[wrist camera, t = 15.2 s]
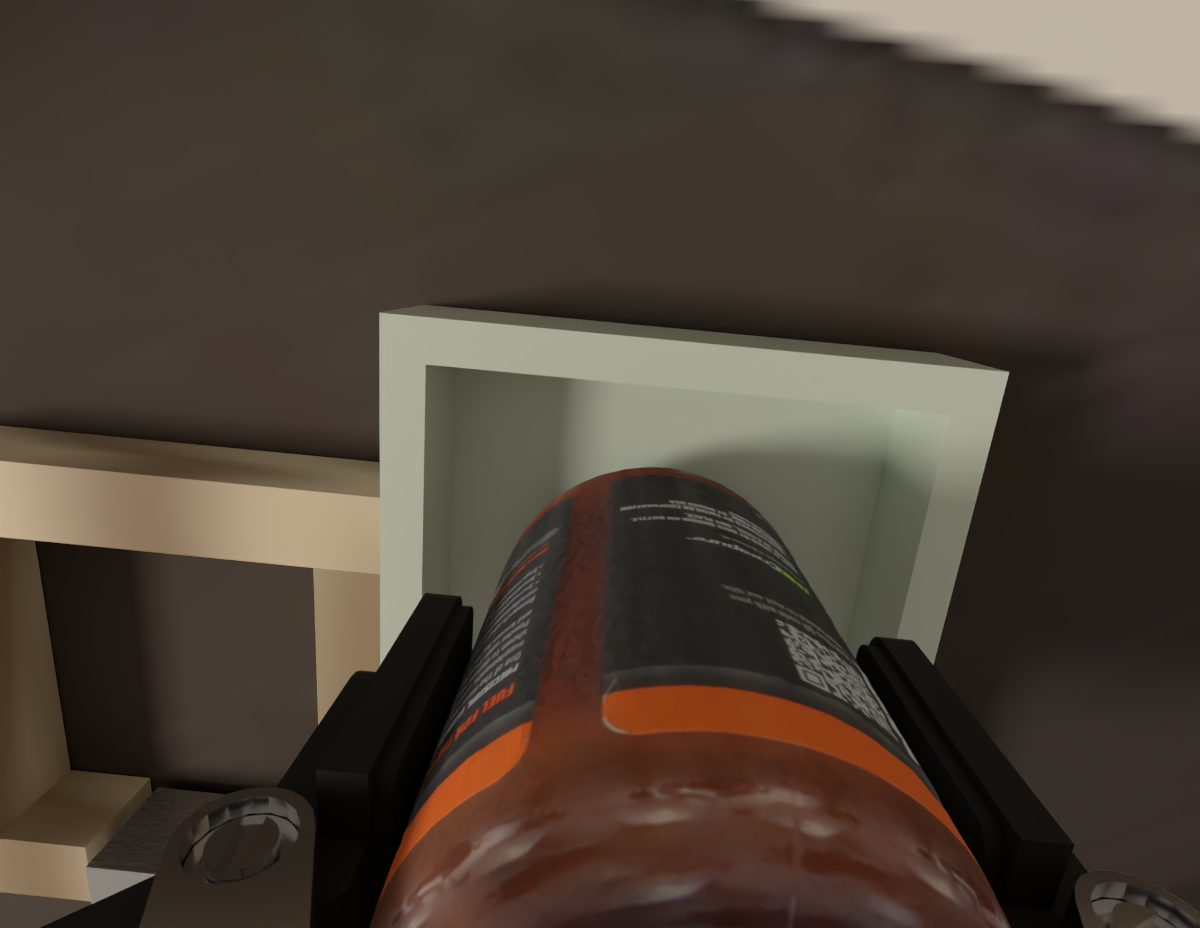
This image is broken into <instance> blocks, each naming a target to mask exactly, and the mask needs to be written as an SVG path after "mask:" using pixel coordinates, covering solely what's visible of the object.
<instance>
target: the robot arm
mask: <svg viewBox="0 0 1200 928" xmlns="http://www.w3.org/2000/svg"><path fill="white" fill-rule="evenodd" d="M473 617H474V612H473V607H472V606H462V598H461V596H453V595H443V594H433V593H425V594H424V595H423V597H422V598H421V600H420V602H419V603H418V605H417V607H416V608H415V610H414V611H413V613H412V615H411V616H410V618H409V619H408V621H407V623H406V624H405V626H404V628H403V629H402V631H401V632H400V634H399V636H398V637H397V639H396V641H395V642H394V644H393V645H392V647H391V649H390V650H389V652H388V653H387V655H386V657H385V658H384V660H383V662H382V663H381V665H380V666H379V668H378V670H377V671H376V672H372V671H362V670H359V671H356V672H355V673H354V674H353V675H352V676H351V677H350V679H349V680H348V682H347V683H346V685H345V686H344V688H343V689H342V691H341V692H340V694H339V695H338V697H337V698H336V700H335V701H334V702H333V704H332V705H331V707H330V708H329V710H328V711H327V713H326V714H325V716H324V717H323V719H322V720H321V722H320V723H319V725H318V726H317V728H316V729H315V731H314V732H313V734H312V735H311V737H310V738H309V740H308V741H307V743H306V744H305V746H304V747H303V749H302V750H301V752H300V753H299V754H298V756H297V757H296V759H295V760H294V762H293V763H292V765H291V766H290V768H289V769H288V771H287V772H286V774H285V775H284V777H283V778H282V780H281V781H280V783H279V784H278V786H277V787H258V788H248V789H244V790H241V791H237V792H233V793H229V794H226V795H224V796H222V797H220V798H218V799H215V800H213V801H211V802H209V803H207V804H205V805H204V806H202V807H201V808H199V809H198V810H197V811H195V812H194V813H192V814H191V815H189V816H188V817H187V818H186V819H185V820H184V821H183V822H182V823H181V824H180V825H179V826H178V827H177V828H176V830H175V831H174V832H173V833H172V834H171V836H170V838H169V840H168V842H167V844H166V846H165V848H164V850H163V852H162V855H161V858H160V861H159V865H158V868H157V871H156V874H155V875H154V876H152V877H150V878H148V879H146V880H143V881H141V882H139V883H137V884H135V885H133V886H130V887H128V888H126V889H124V890H122V891H119V892H117V893H115V894H113V895H111V896H109V897H106V898H104V899H102V900H100V901H98V902H95V903H93V904H91V905H89V906H87V907H85V908H82V909H80V910H78V911H76V912H74V913H71V914H69V915H67V916H65V917H63V918H61V919H58V920H56V921H54V922H52V923H50V924H47V925H45V926H43V927H41V928H369V927H370V924H371V921H372V918H373V915H374V913H375V910H376V907H377V904H378V901H379V898H380V896H381V893H382V890H383V887H384V884H385V882H386V879H387V876H388V874H389V871H390V868H391V865H392V863H393V860H394V858H395V855H396V853H397V851H398V849H399V846H400V844H401V841H402V838H403V835H404V832H405V830H406V827H407V824H408V821H409V818H410V815H411V812H412V809H413V805H414V801H415V799H416V797H417V796H418V794H419V791H420V789H421V787H422V783H423V780H424V777H425V774H426V772H427V769H428V766H429V764H430V762H431V759H432V756H433V753H434V751H435V748H436V746H437V743H438V740H439V738H440V735H441V733H442V730H443V728H444V725H445V722H446V719H447V717H448V714H449V712H450V709H451V706H452V704H453V701H454V698H455V696H456V694H457V691H458V688H459V685H460V682H461V680H462V677H463V675H464V671H465V668H466V665H467V662H468V660H469V659H470V656H471V653H472V641H473ZM856 661H857V663H858V665H859V666H860V668H861V670H862V672H863V673H864V674H865V675H866V677H867V678H868V680H869V682H870V684H871V686H872V688H873V690H874V691H875V693H876V694H877V696H878V697H879V699H880V701H881V702H882V704H883V705H884V707H885V708H886V710H887V712H888V713H889V715H890V717H891V719H892V720H893V722H894V724H895V725H896V727H897V729H898V731H899V732H900V734H901V735H902V737H903V738H904V740H905V742H906V744H907V745H908V747H909V748H910V750H911V752H912V753H913V755H914V757H915V758H916V760H917V762H918V763H919V765H920V766H921V768H922V769H923V771H924V773H925V774H926V776H927V778H928V779H929V781H930V782H931V784H932V786H933V787H934V789H935V791H936V793H937V795H938V797H939V799H940V801H941V803H942V806H943V808H944V809H945V810H946V812H947V813H948V815H949V817H950V818H951V820H952V822H953V824H954V825H955V827H956V829H957V830H958V832H959V834H960V835H961V837H962V839H963V840H964V842H965V843H966V845H967V847H968V848H969V850H970V851H971V853H972V855H973V856H974V858H975V860H976V861H977V863H978V864H979V866H980V868H981V869H982V871H983V873H984V875H985V877H986V879H987V881H988V882H989V884H990V886H991V888H992V890H993V892H994V894H995V896H996V899H997V901H998V903H999V905H1000V907H1001V909H1002V911H1003V913H1004V915H1005V917H1006V918H1007V920H1008V922H1009V924H1010V926H1011V928H1200V913H1199V912H1198V911H1196V910H1195V909H1194V908H1192V907H1191V906H1190V905H1188V904H1187V903H1186V902H1185V901H1183V900H1181V899H1179V898H1178V897H1176V896H1174V895H1173V894H1171V893H1169V892H1167V891H1166V890H1164V889H1162V888H1161V887H1159V886H1156V885H1154V884H1152V883H1149V882H1147V881H1145V880H1142V879H1140V878H1138V877H1135V876H1132V875H1128V874H1124V873H1120V872H1116V871H1108V870H1093V871H1091V872H1087V871H1086V869H1085V868H1084V867H1083V865H1082V864H1081V863H1080V861H1079V860H1078V859H1077V858H1076V856H1075V855H1074V854H1073V852H1072V850H1073V847H1074V844H1073V843H1072V841H1071V840H1070V839H1069V838H1068V836H1067V835H1066V834H1065V832H1064V831H1063V830H1062V829H1061V827H1060V826H1059V825H1058V824H1057V822H1056V821H1055V820H1054V818H1053V817H1052V816H1051V815H1050V813H1049V812H1048V811H1047V809H1046V808H1045V807H1044V806H1043V804H1042V803H1041V802H1040V801H1039V799H1038V798H1037V797H1036V795H1035V794H1034V793H1033V792H1032V790H1031V789H1030V788H1029V787H1028V785H1027V784H1026V783H1025V781H1024V780H1023V779H1022V778H1021V776H1020V775H1019V774H1018V772H1017V771H1016V770H1015V769H1014V767H1013V766H1012V765H1011V764H1010V762H1009V761H1008V760H1007V758H1006V757H1005V756H1004V755H1003V753H1002V752H1001V751H1000V750H999V748H998V747H997V746H996V744H995V743H994V742H993V741H992V739H991V738H990V737H989V736H988V734H987V733H986V732H985V730H984V729H983V728H982V727H981V725H980V724H979V723H978V721H977V720H976V719H975V718H974V716H973V715H972V714H971V713H970V711H969V710H968V709H967V707H966V706H965V705H964V704H963V702H962V701H961V700H960V699H959V697H958V696H957V695H956V693H955V692H954V691H953V690H952V688H951V687H950V686H949V685H948V683H947V682H946V681H945V679H944V678H943V677H942V676H941V674H940V673H939V672H938V670H937V669H936V668H935V667H934V665H933V664H932V663H931V662H930V660H929V659H928V658H927V656H926V655H925V654H924V653H923V651H922V650H921V649H920V648H919V646H918V645H917V644H916V643H915V642H914V641H913V640H906V639H895V638H885V637H874V638H872V640H871V641H870V643H869V645H861V646H860V647H859V649H858V652H857V655H856Z"/></svg>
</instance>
